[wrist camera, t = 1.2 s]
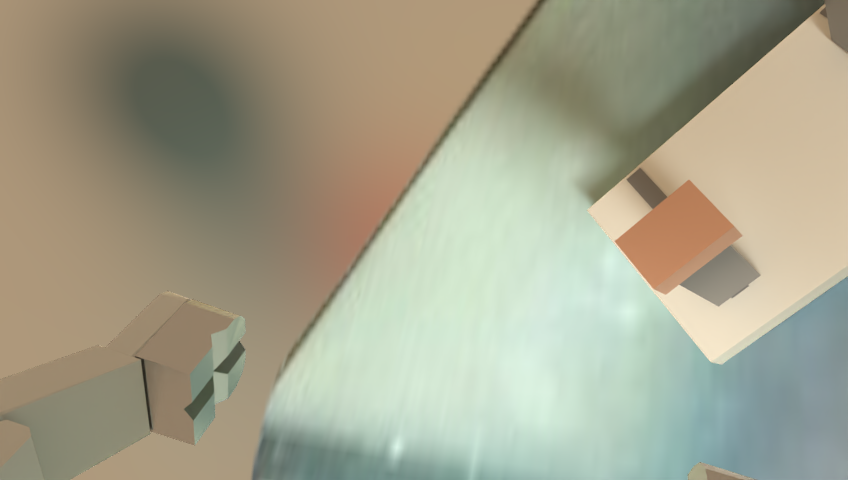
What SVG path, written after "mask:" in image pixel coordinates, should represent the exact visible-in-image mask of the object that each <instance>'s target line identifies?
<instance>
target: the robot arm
mask: <svg viewBox="0 0 848 480" xmlns="http://www.w3.org/2000/svg"><path fill="white" fill-rule="evenodd" d="M244 333H245V319H244V318H243V317H241V316H239V315H237V314H234V313H230V312H228V311H225V310H222V309H219V308H216V307H214V306H211V305H208V304H205V303H202V302H199V301H196V300H193V299H189V298H186V297H184V296H181V295H178V294H175V293H172V292H169V291H167V292H164V293H162V294H160V295H158V296H157V297H156V298H155V299H154V300H153V301H152V302H151V303H150V304H149V305H148V306H147V307H146V308H145V309H144V310H143V311H142V312H141V313H140V314H139V315H138V316H137V317H136V318H135V319H134V320H133V321H132V322H131V323H130V324H129V325H128V326H127V327H126V328H125V329H124V330H123V331H122V332H121V333H119V334H118V336H116V338H114V339H113V340H112V341H111V343H109V344H108V345H107V346H106V347H103V346H100V345H97V346H94V347H91V348H88V349H85V350H82V351H79V352H77V353H74V354H71V355H68V356H65V357H62V358H60V359H57V360H54V361H51V362H48V363H45V364H42V365H39V366H37V367H34V368H31V369H28V370H25V371H22V372H20V373H17V374H14V375H11V376H8V377H5V378H2V379H0V480H70V479H72V478H74V477H75V476H77V475H79V474H81V473H83V472H84V471H86V470H88V469H90V468H91V467H93V466H95V465H97V464H98V463H100V462H102V461H104V460H106V459H107V458H109V457H111V456H113V455H114V454H116V453H118V452H120V451H121V450H123V449H125V448H127V447H128V446H130V445H132V444H134V443H135V442H137V441H139V440H141V439H142V438H144V437H146V436H148V435H150V431H151V432H155V433H158V434H161V435H164V436H167V437H170V438H173V439H176V440H179V441H183V442H186V443H189V444H192V445H195V444H196V443H197V442H198V440H199V439H200V437H201V436H202V435H203V433H204V432H205V430H206V429H207V427H208V426H209V425H210V423H211V422H212V421H213V419H214V418H215V404H217V403H219V402H221V401H223V400H226V399H228V398H229V396H230V395H231V393H232V392H233V390H234V389H235V387H236V386H237V383H238V381H239V379H240V376H241V374H242V372H243V368H244V363H245V349H244V347H243V346H242V344H241V343H240V341H239V340H240V339H241V338H242V336H243V335H244ZM688 480H756V479H753V478H750V477H747V476H743V475H740V474H737V473H734V472H730V471H727V470H724V469H721V468H717V467H714V466H711V465H708V464H704V463H701V462H699V463H698V464H696V465H695V466H694V467H693V468H692V469H691V471H690V472H689V474H688Z"/></svg>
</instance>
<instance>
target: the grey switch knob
mask: <svg viewBox="0 0 848 480" xmlns="http://www.w3.org/2000/svg"><path fill="white" fill-rule="evenodd" d="M825 6H826V12H827V18H828V24H829V30H830V36H831V40H832V41H833V42H835V43H836V44H837V45H839V46H840V47H841V48H843V49H844V50H846V51H847V52H848V0H825Z"/></svg>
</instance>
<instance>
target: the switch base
mask: <svg viewBox="0 0 848 480" xmlns="http://www.w3.org/2000/svg"><path fill="white" fill-rule="evenodd" d="M688 180H690V181H691V182H692V183H693V184H694V185H695V186H696V187H697V188H698V189H699V190H700V191H701V192H702V193H703V194H704V195H705V196H706V197H707V198H708V200H709V201H710V202H711V203H712V204H713V205H714V206H715V207H716V208H717V209H718V210H719V211H720V212H721V213H722V214H723V215H724V216H725V217H726V218H727V219H728V220H729V221H730V222H731V223H732V224H733V225H734V227H735V228H736V229H737V230H738V231H739V232H740V233H741V234H742V235H743V236H742V237H740V238H739V239H738V240H736V241H735V242H734V243H733V244H732V245H733V246H734V247H735V248H736V249H737V251H738V252H739V253H740V254H741V255H742V256H743V257H744V258H745V259H746V260H747V261H748V262H749V263H750V264H751V265H752V266H753V268H754V269H755V270H756V271H757V272H758V273H759V274H760V275H761V276H759V277H758V278H757V279H755V280H754V281H753V282H751V283H750V284H749V285H747V286H746V287H744V288H743V289H742V290H740V291H739V292H738V293H736V294H735V295H734V296H732V297H731V298H730V299H728V300H727V301H725V302H724V303H723V304H721V305H720V306H719V307H718V306H716V305H715V304H713V303H711V302H709V301H707V300H706V299H704V298H702V297H700V296H698V295H697V294H695V293H693V292H691V291H690V290H688V289H686V288H684V287H682V286H681V285H678V286H677V287H675V288H674V289H673V290H671V291H670V292H669V293H668V294H666V295H665V294H663V293H661V292H659V291H657V290H654V289H653V288H652V287H651V285H650V284H649V283H648V282H647V280H646V279H645V278H644V277H643V276H642V274H641V273H640V272H639V271H638V269H637V268H636V267H635V266H634V265H633V263H632V262H631V261H630V260H629V258H628V257H627V256H626V255H625V254H624V252H623V251H622V250H621V249H620V247H619V246H618V245H617V244H616V243H615V240H617V239H618V238H619V237H620V236H621V235H623V234H624V233H625V232H626V231H627V230H629V229H630V228H631V227H632V226H633V225H635V224H636V223H637V222H638V221H639V220H641V219H642V218H643V217H644V216H645V215H647V214H648V213H649V212H650V211H652V210H653V209H654V208H655V207H656V206H658V205H659V204H660V203H661V202H662V201H664V200H665V199H666V198H667V197H668V196H670V195H671V194H672V193H673V192H674V191H676V190H677V189H678V188H679V187H680V186H682V185H683V184H684V183H685V182H686V181H688ZM587 211H588V212H589V213H590V215H591V216H592V217H593V218H594V219H595V221H596V222H597V223H598V224H599V226H600V227H601V228H602V229H603V230H604V232H605V233H606V234H607V235H608V237H609V238H610V239H611V240H612V242H613V243H614V244H615V245H616V246H617V248H618V249H619V250H620V251H621V253H622V254H623V255H624V256H625V257H626V259H627V260H628V261H629V262H630V264H631V265H632V266H633V267H634V268H635V270H636V271H637V272H638V273H639V275H640V276H641V277H642V278H643V280H644V281H645V282H646V283H647V284H648V286H649V287H650V288H651V289H652V291H653V292H654V293H655V294H656V295H657V297H658V298H659V299H660V300H661V302H662V303H663V304H664V305H665V307H666V308H667V309H668V310H669V311H670V313H671V314H672V315H673V316H674V318H675V319H676V320H677V321H678V322H679V324H680V325H681V326H682V327H683V329H684V330H685V331H686V332H687V333H688V335H689V336H690V337H691V338H692V340H693V341H694V342H695V343H696V345H697V346H698V347H699V348H700V349H701V351H702V352H703V353H704V354H705V356H706V357H707V358H708V359H709V360H710V362H712V363H717V364H723V363H724V362H726V361H727V360H729V359H730V358H731V357H733V356H734V355H736V354H737V353H739V352H740V351H741V350H743V349H744V348H746V347H747V346H749V345H750V344H751V343H753V342H754V341H756V340H757V339H759V338H760V337H761V336H763V335H764V334H766V333H767V332H769V331H770V330H771V329H773V328H774V327H776V326H777V325H779V324H780V323H781V322H783V321H784V320H786V319H787V318H789V317H790V316H791V315H793V314H794V313H796V312H797V311H799V310H800V309H801V308H803V307H804V306H806V305H807V304H808V303H810V302H811V301H813V300H814V299H816V298H817V297H818V296H820V295H821V294H823V293H824V292H826V291H827V290H828V289H830V288H831V287H833V286H834V285H836V284H837V283H838V282H840V281H841V280H843V279H844V278H846V277H847V276H848V52H847V51H846V50H844V49H843V48H841V47H840V46H839V45H837V44H836V43H835V42H833V41H832V40H831V36H830V30H829V24H828V18H827V12H826V6H825V4H824V5H823V6H822V7H821V8H819V9H818V10H817V11H816V12H815V13H814V14H812V15H811V16H810V17H809V18H808V19H807V20H806V21H804V22H803V23H802V24H801V25H800V26H799V27H797V28H796V29H795V30H794V31H793V32H792V33H791V34H789V35H788V36H787V37H786V38H785V39H784V40H782V41H781V42H780V43H779V44H778V45H777V46H776V47H774V48H773V49H772V50H771V51H770V52H769V53H768V54H766V55H765V56H764V57H763V58H762V59H761V60H759V61H758V62H757V63H756V64H755V65H754V66H753V67H751V68H750V69H749V70H748V71H747V72H746V73H744V74H743V75H742V76H741V77H740V78H739V79H738V80H736V81H735V82H734V83H733V84H732V85H731V86H729V87H728V88H727V89H726V90H725V91H724V92H723V93H721V94H720V95H719V96H718V97H717V98H716V99H714V100H713V101H712V102H711V103H710V104H709V105H708V106H706V107H705V108H704V109H703V110H702V111H701V112H700V113H698V114H697V115H696V116H695V117H694V118H693V119H691V120H690V121H689V122H688V123H687V124H686V125H685V126H683V127H682V128H681V129H680V130H679V131H678V132H676V133H675V134H674V135H673V136H672V137H671V138H670V139H668V140H667V141H666V142H665V143H664V144H663V145H661V146H660V147H659V148H658V149H657V150H656V151H655V152H653V153H652V154H651V155H650V156H649V157H648V158H647V159H645V160H644V161H643V162H642V163H641V164H640V165H638V166H637V167H636V168H635V169H634V170H633V171H632V172H630V173H629V174H628V175H627V176H626V177H625V178H623V179H622V180H621V181H620V182H619V183H618V184H617V185H615V186H614V187H613V188H612V189H611V190H610V191H608V192H607V193H606V194H605V195H604V196H603V197H602V198H600V199H599V200H598V201H597V202H596V203H595V204H593V205H592V206H591V207H590V208H589V209H588V210H587Z"/></svg>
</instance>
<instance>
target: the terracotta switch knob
mask: <svg viewBox="0 0 848 480" xmlns="http://www.w3.org/2000/svg"><path fill="white" fill-rule="evenodd" d="M742 236H743V235H742V234H741V233H740V232H739V231H738V230H737V229H736V228H735V227H734V225H733V224H732V223H731V222H730V221H729V220H728V219H727V218H726V217H725V216H724V215H723V214H722V213H721V212H720V211H719V210H718V209H717V208H716V207H715V206H714V205H713V204H712V203H711V202H710V201H709V200H708V198H707V197H706V196H705V195H704V194H703V193H702V192H701V191H700V190H699V189H698V188H697V187H696V186H695V185H694V184H693V183H692V182H691V181H690V180H688V181H686V182H685V183H684V184H683V185H682V186H680V187H679V188H678V189H677V190H676V191H674V192H673V193H672V194H671V195H670V196H668V197H667V198H666V199H665V200H664V201H662V202H661V203H660V204H659V205H658V206H656V207H655V208H654V209H653V210H652V211H650V212H649V213H648V214H647V215H645V216H644V217H643V218H642V219H641V220H639V221H638V222H637V223H636V224H635V225H633V226H632V227H631V228H630V229H629V230H627V231H626V232H625V233H624V234H623V235H621V236H620V237H619V238H618V239H617V240H615V243H616V244H617V245H618V246H619V247H620V249H621V250H622V251H623V252H624V254H625V255H626V256H627V257H628V258H629V260H630V261H631V262H632V263H633V265H634V266H635V267H636V268H637V269H638V271H639V272H640V273H641V274H642V276H643V277H644V278H645V279H646V280H647V282H648V283H649V284H650V285H651V287H652V288H653V289H654V290H657V291H659V292H661V293H663V294H665V295H666V294H668V293H669V292H670V291H671V290H673V289H674V288H675V287H677V286H678V285H681V286H682V287H684V288H686V289H688V290H690V291H691V292H693V293H695V294H697V295H698V296H700V297H702V298H704V299H706V300H707V301H709V302H711V303H713V304H715V305H716V306H718V307H719V306H720V305H721V304H723V303H724V302H725V301H727V300H728V299H730V298H731V297H732V296H734V295H735V294H736V293H738V292H739V291H740V290H742V289H743V288H744V287H746V286H747V285H749V284H750V283H751V282H753V281H754V280H755V279H757V278H758V277H759V276H761V275H760V274H759V273H758V272H757V271H756V270H755V269H754V268H753V266H752V265H751V264H750V263H749V262H748V261H747V260H746V259H745V258H744V257H743V256H742V255H741V254H740V253H739V252H738V251H737V249H736V248H735V247H734V246H733V245H732V244H733V243H734V242H735V241H736V240H738V239H739V238H740V237H742Z"/></svg>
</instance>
